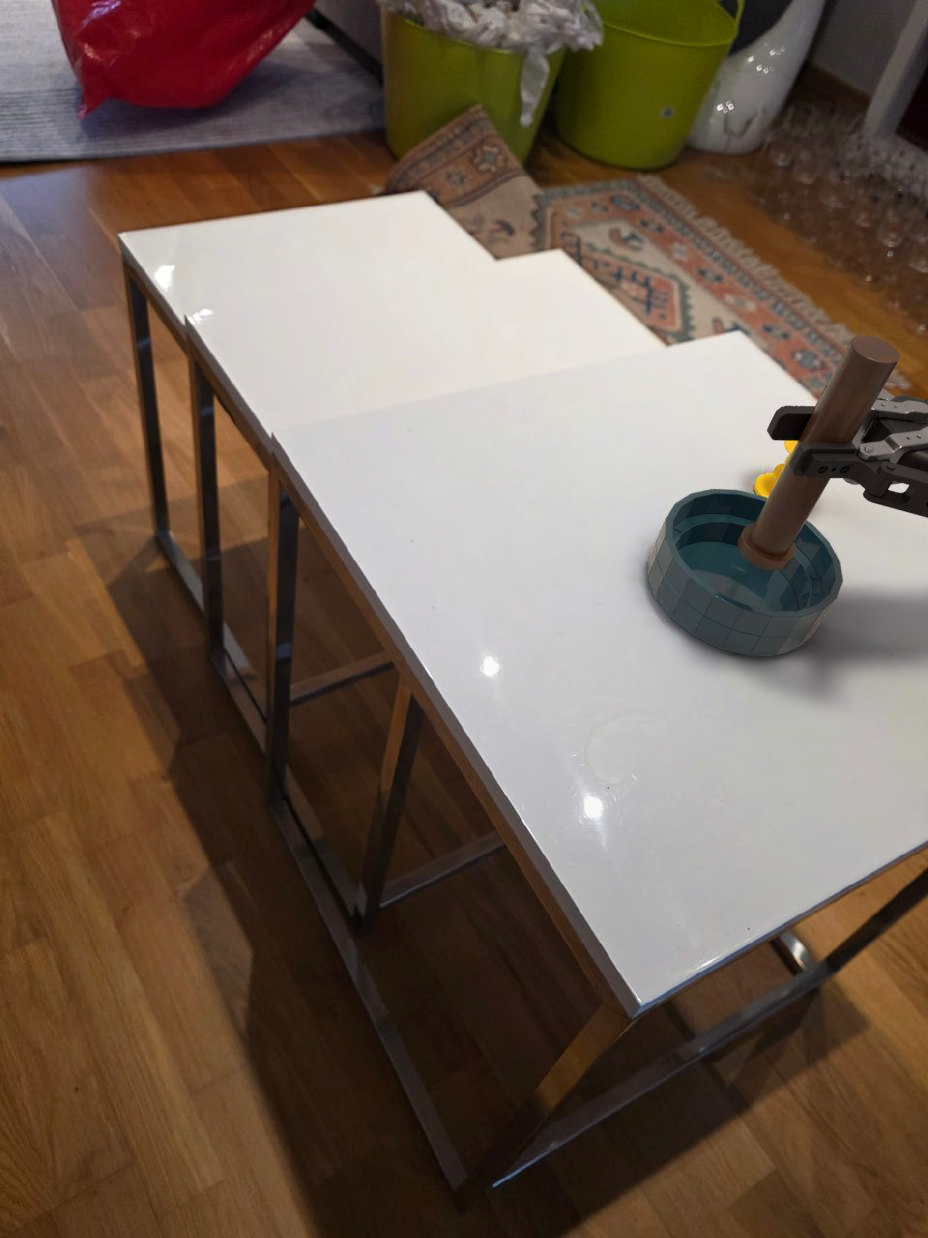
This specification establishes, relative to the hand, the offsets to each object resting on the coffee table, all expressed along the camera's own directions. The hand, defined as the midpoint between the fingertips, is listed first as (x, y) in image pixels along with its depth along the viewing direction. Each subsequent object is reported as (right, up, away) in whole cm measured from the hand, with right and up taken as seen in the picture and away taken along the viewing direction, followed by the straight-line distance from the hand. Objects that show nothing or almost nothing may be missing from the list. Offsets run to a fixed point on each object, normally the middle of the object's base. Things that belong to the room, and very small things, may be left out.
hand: (785, 441), depth 62 cm
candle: (+9, 0, +27) cm, 29 cm away
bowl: (+1, -9, +17) cm, 19 cm away
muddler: (+1, -6, +8) cm, 10 cm away
